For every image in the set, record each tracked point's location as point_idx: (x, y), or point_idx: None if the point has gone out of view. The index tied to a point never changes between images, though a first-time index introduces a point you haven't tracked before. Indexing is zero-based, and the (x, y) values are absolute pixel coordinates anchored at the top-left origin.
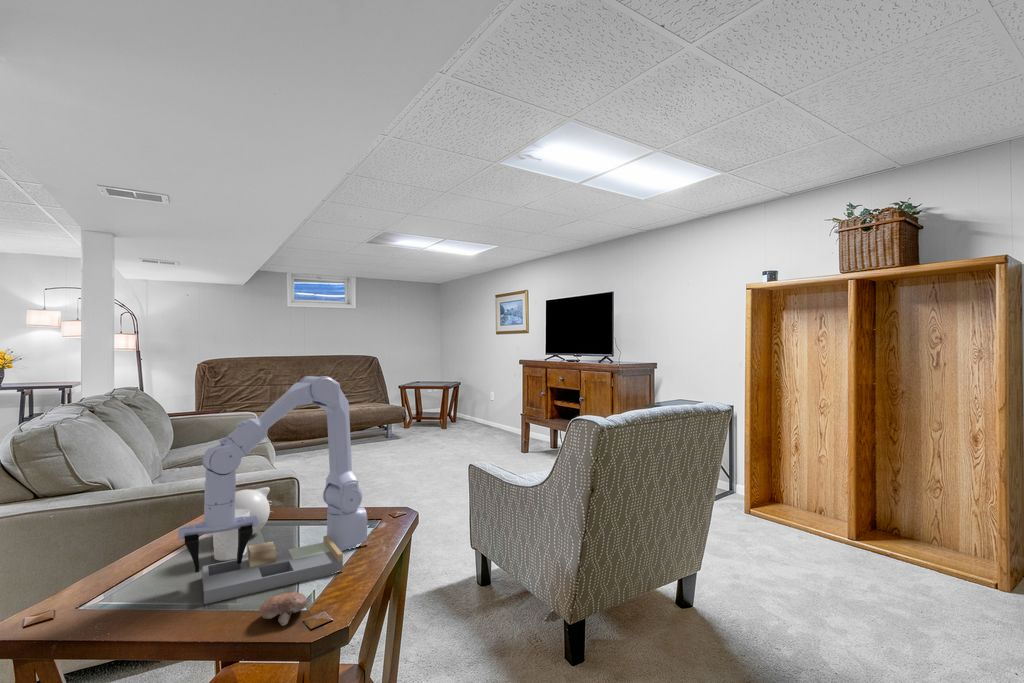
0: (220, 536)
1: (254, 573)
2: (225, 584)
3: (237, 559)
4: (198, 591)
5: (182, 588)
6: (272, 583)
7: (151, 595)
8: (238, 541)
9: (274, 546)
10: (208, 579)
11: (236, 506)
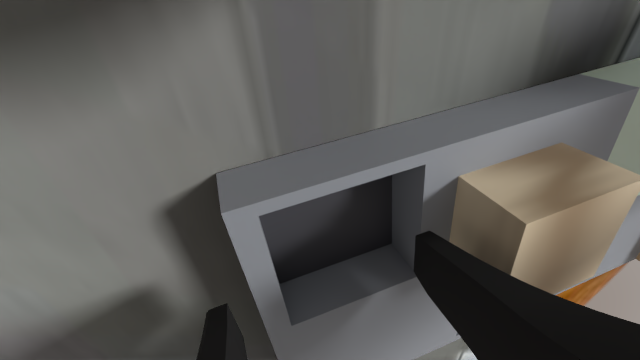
0: None
1: None
2: None
3: (424, 271)
4: (243, 298)
5: (153, 269)
6: None
7: (9, 320)
8: (511, 334)
9: (602, 256)
10: (295, 352)
11: None
